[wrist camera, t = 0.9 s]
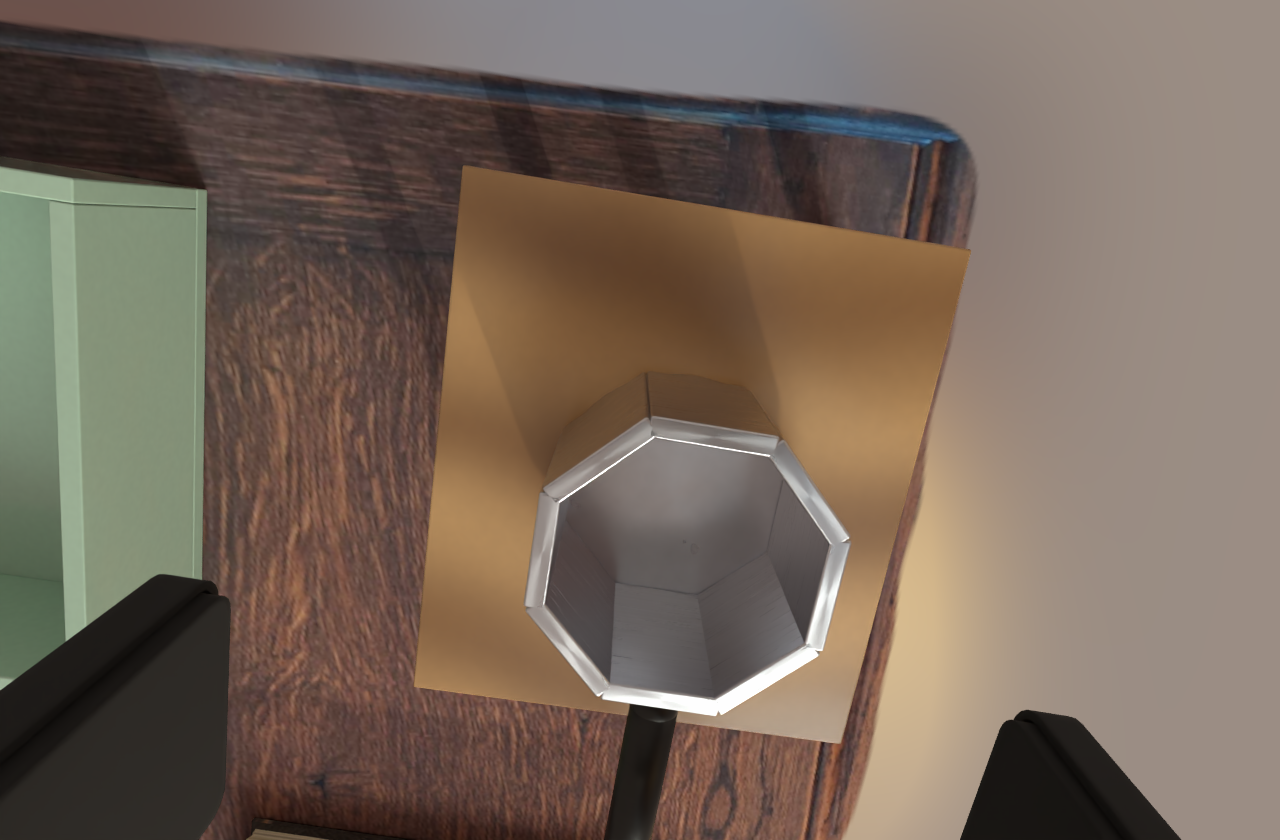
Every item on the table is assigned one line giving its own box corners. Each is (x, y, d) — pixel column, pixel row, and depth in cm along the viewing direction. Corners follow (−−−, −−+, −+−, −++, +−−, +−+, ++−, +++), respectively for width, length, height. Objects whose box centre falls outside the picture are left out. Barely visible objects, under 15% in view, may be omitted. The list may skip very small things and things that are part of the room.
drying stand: (526, 187, 31) (462, 164, 20) (850, 241, 32) (972, 249, 20) (485, 535, 35) (413, 687, 24) (774, 577, 36) (841, 744, 24)
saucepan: (574, 354, 21) (552, 399, 16) (815, 395, 21) (876, 452, 16) (504, 822, 25) (467, 986, 20) (708, 849, 25) (728, 1019, 20)
